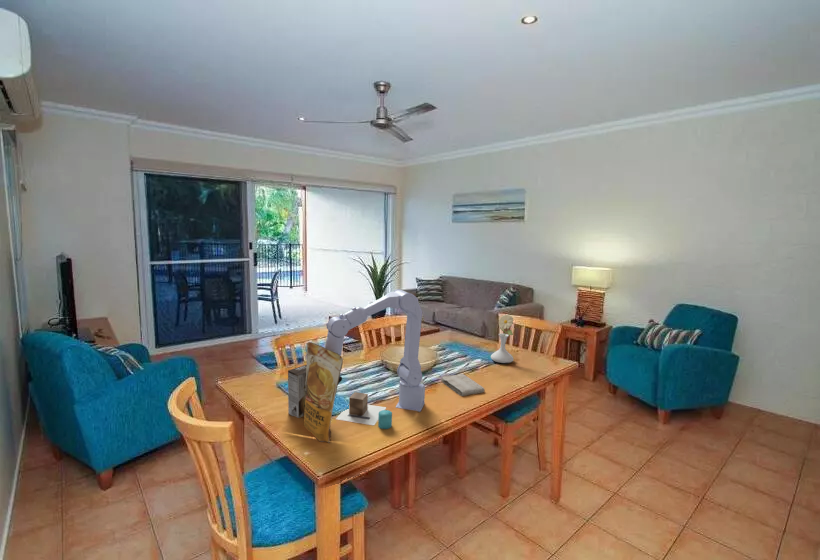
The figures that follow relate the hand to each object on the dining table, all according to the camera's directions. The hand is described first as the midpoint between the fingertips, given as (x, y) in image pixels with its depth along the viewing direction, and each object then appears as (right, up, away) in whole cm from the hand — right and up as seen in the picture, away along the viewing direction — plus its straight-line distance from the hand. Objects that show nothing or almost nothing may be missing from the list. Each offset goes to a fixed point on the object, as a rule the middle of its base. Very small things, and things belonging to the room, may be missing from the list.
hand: (326, 391), depth 139 cm
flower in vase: (+75, -4, +68) cm, 101 cm away
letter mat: (+11, -10, +7) cm, 17 cm away
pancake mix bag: (-1, -12, -6) cm, 13 cm away
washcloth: (+50, -8, +35) cm, 62 cm away
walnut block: (+10, -9, +8) cm, 16 cm away
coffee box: (-9, -9, +7) cm, 15 cm away
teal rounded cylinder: (+20, -12, -1) cm, 23 cm away
